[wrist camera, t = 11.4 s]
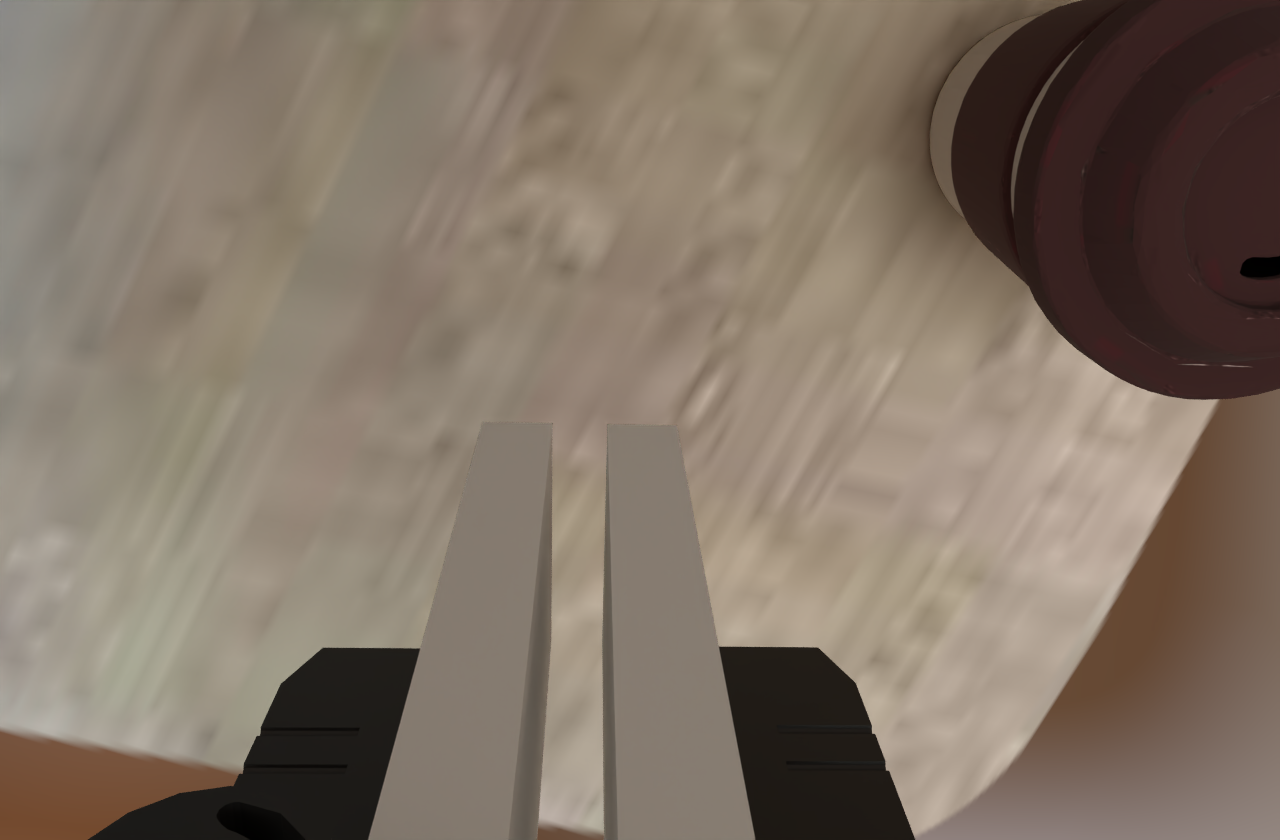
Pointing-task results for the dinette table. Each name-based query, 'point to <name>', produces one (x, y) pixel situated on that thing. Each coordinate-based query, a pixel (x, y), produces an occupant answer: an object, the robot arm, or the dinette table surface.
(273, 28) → the dinette table surface
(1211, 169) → the coffee cup
